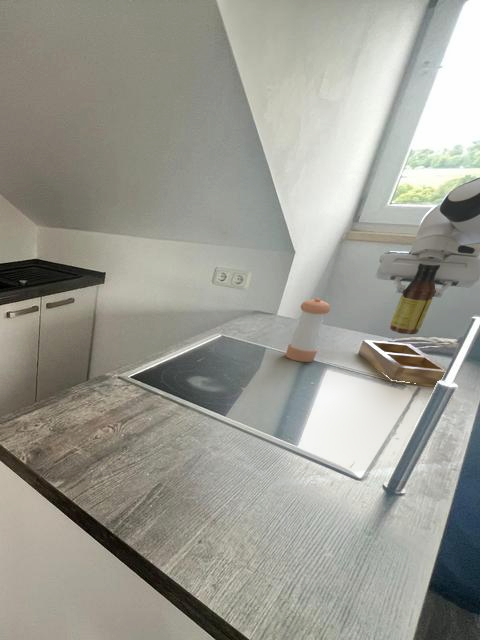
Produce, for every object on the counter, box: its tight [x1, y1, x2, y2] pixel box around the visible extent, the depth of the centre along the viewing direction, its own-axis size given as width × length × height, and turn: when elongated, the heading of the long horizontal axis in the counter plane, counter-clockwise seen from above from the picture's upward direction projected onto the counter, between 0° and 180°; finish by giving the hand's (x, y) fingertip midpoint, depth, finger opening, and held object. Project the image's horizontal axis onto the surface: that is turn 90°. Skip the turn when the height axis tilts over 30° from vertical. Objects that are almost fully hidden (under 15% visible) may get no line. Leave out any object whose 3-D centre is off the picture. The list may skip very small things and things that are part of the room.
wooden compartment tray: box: [358, 339, 448, 388], centre depth 112 cm, size 12×22×5 cm, turn 159°
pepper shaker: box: [285, 297, 331, 363], centre depth 119 cm, size 7×7×19 cm
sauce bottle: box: [389, 262, 440, 335], centre depth 110 cm, size 7×6×20 cm
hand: (418, 294), depth 109 cm, fingers closed on sauce bottle, 6 cm apart
